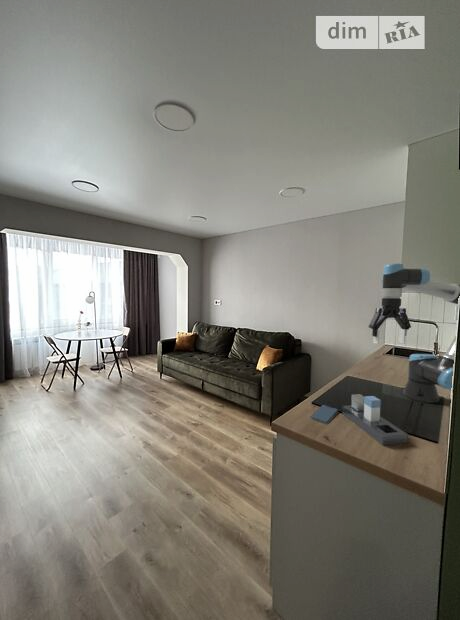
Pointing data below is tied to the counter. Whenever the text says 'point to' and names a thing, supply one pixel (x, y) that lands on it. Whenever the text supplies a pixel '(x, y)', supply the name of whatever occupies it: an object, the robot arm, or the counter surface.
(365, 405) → the plug
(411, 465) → the counter surface
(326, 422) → the smartphone
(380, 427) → the slotted peg board
